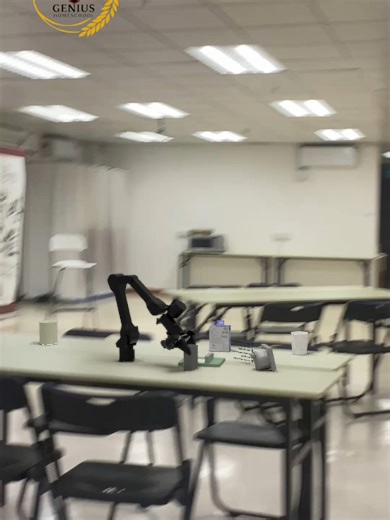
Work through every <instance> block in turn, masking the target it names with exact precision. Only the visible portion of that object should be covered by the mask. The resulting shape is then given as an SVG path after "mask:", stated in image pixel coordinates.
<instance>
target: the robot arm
mask: <svg viewBox="0 0 390 520" xmlns="http://www.w3.org/2000/svg"><path fill="white" fill-rule="evenodd" d="M106 279H107V280H106V281H107V285H108V286H109V289H110V290H111V292H112V293H113V294H114V298H115V302H116V307H117V312H118V316H119V320H120V324H121V326H120V328H119V329H120V331H119V339H117V341H116V342H115V347H116V348H118V353H119V354H118V355H119V358H118V362H121V363H122V362H134V360H135V359H136V349H135V348H134V347H135V346H137V343H138V341H139V340H140V335H141V333H140V330H139V326H138V325H135V324H134V323H133V319H132V316H131V312H130V307H129V303H128V298H127V294H126V290H127V285H129V286H130V287H131V288H132V289H133V291H135V292H136V294H137V295H138V296H139V297H140V299H142V301H143V302H144V304H145V306H146V309H147V311H148V312H149V314H150V315H151V316H153V317H156V321H155V325H162V326H163V327H164V329H165V330H166V332H165V333H166V334H165V335H166V336H167V337H165V339H161V341H160V345H161V347H162V348H163V349H164V350H168V351H171V350H174V349H178V350H180V351H182V352H183V353H184V352H185V353H186V354H188V355H191V352H190V350H189V348H188V344H194V345H197V342H196V336H197V335H198V334H199V332H198V331H197V330H196V328H193V329H189V330H187V329H184V328H182V326H181V325H182V323H181V321H180V322H178V321H177V320H176V319H179V318H180V317H181V316H183V314H184V313H185V312H186V311H187V309H188V307H187V305H186V303H185V302H183V301H181V300H179V299H178V298H173V299H172V301H171V303H170V304H167V303H166V302H165V301H163V300H162V299H161V298H159V297H157V296H155V295H154V294H153V293H152V292H151V291H150V289H148V287H147V286H146V285H145V284H144V283H143V282H142V280H140V279H139V276H138V275H136V274H124V273H123V272H122V273H121V272H120V273H119V272H118V273H112V274H109V275H108V276H107V278H106ZM157 316H160V317H157Z"/></svg>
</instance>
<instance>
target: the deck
mask: <svg viewBox="0 0 390 520" xmlns="http://www.w3.org/2000/svg"><path fill="white" fill-rule="evenodd" d="M214 356H215V355H214V352H208V353H206V355H204V356H198V367H204V368H205V367H207V368H208V367H209V368H220V367H221V366H222V365H223V363H224V362H225V361H226V357H214ZM177 365H178V366H183V365H184V357H183V358H182V359H181V360H180V361H178V362H177Z"/></svg>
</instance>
